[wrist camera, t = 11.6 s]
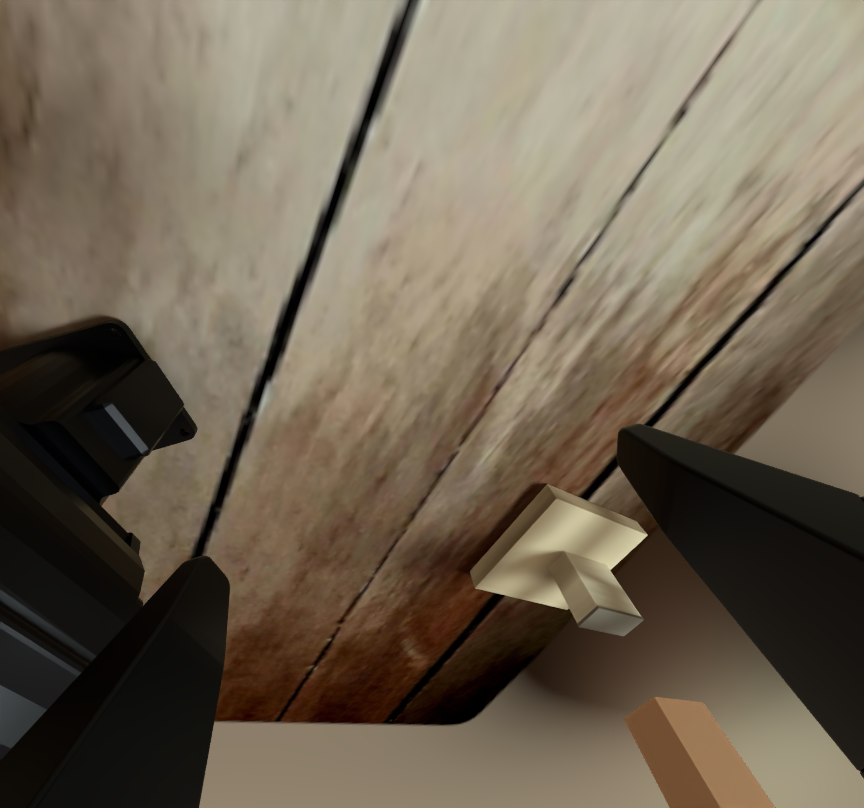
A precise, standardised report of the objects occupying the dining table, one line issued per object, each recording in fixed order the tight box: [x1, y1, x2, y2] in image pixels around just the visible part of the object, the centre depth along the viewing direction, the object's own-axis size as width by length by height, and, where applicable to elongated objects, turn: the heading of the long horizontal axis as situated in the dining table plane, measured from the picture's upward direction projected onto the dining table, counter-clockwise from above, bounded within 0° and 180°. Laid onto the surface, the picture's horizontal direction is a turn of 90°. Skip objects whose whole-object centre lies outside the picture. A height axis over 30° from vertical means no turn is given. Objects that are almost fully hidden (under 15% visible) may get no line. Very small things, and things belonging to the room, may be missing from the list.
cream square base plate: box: [470, 484, 648, 636], centre depth 29 cm, size 10×10×6 cm
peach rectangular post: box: [624, 697, 775, 808], centre depth 20 cm, size 5×2×6 cm, turn 58°
